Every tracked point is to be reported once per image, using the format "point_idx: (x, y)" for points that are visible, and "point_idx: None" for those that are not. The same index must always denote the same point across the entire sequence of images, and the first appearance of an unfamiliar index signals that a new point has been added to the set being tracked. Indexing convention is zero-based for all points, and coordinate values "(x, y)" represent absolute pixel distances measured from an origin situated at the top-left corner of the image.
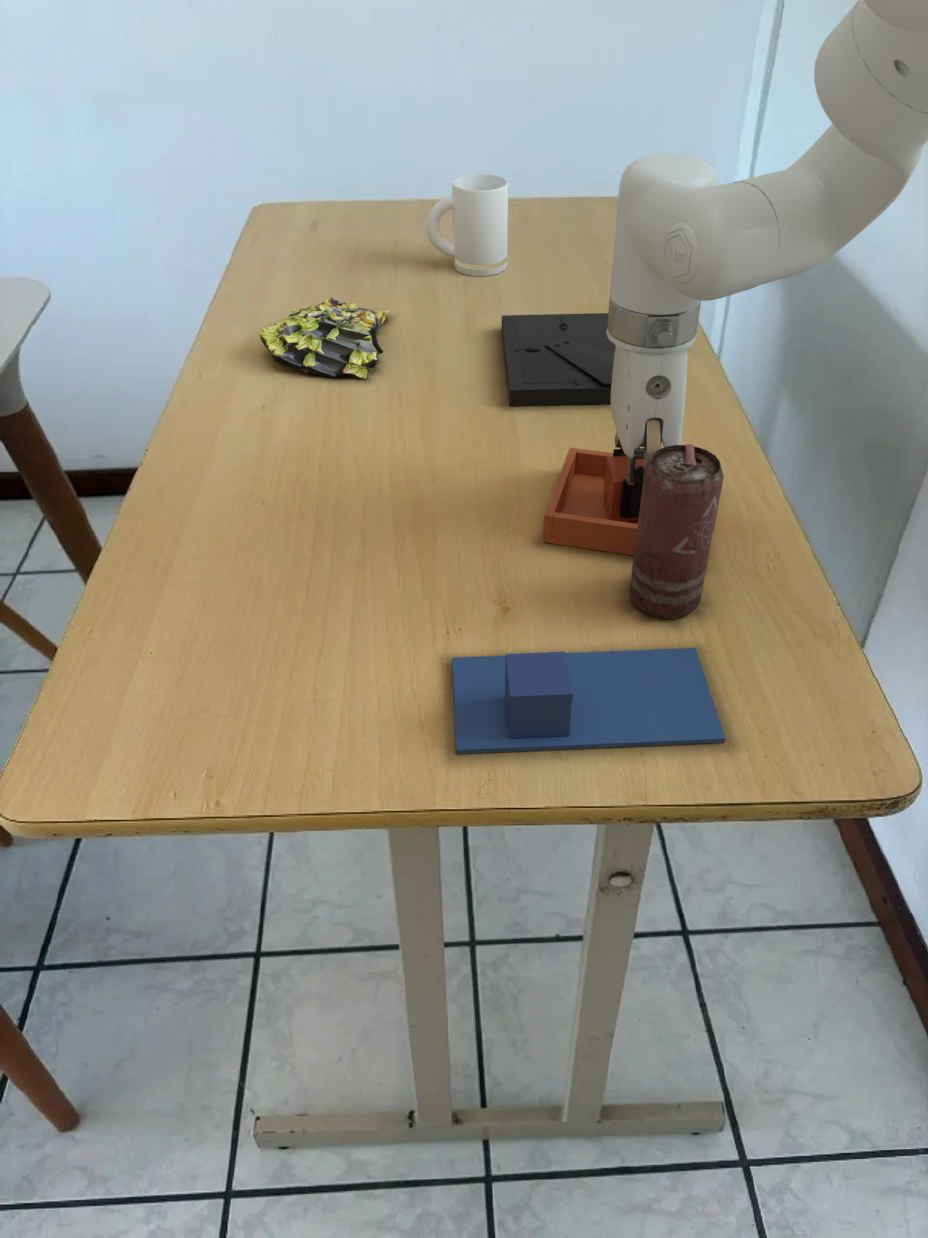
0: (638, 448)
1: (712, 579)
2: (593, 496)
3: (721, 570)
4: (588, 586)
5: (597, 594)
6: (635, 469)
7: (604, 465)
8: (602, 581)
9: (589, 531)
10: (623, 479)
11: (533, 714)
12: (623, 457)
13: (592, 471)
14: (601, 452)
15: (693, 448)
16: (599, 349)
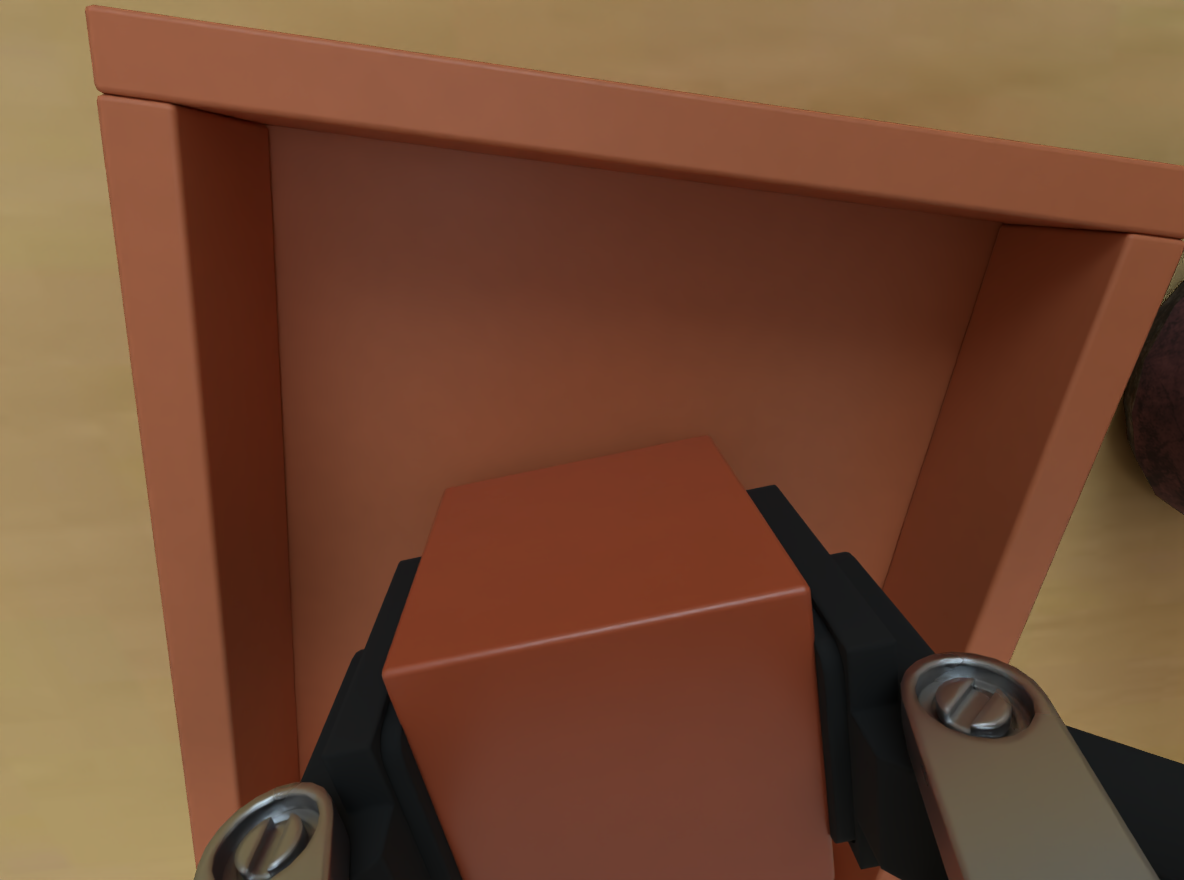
0: (389, 834)
1: (1163, 101)
2: None
3: (1091, 37)
4: (1113, 658)
5: (1169, 624)
6: (657, 781)
7: (267, 750)
8: (1090, 613)
9: None
10: (866, 865)
11: None
12: (480, 863)
13: (290, 760)
14: (204, 827)
15: None
16: None
